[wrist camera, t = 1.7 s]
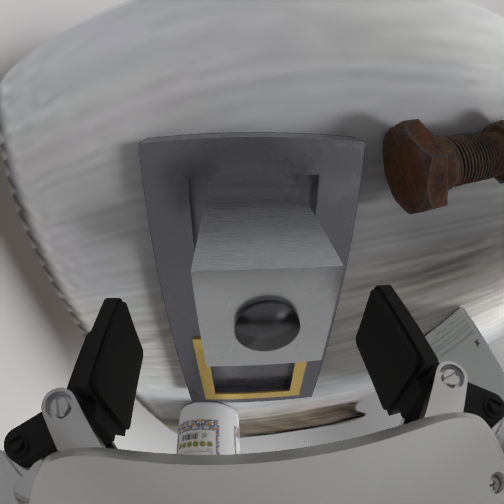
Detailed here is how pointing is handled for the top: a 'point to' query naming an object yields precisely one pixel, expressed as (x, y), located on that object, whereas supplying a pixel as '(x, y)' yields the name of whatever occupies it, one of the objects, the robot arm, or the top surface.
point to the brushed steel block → (263, 278)
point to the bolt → (438, 162)
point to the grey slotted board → (189, 219)
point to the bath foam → (208, 430)
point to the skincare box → (467, 351)
